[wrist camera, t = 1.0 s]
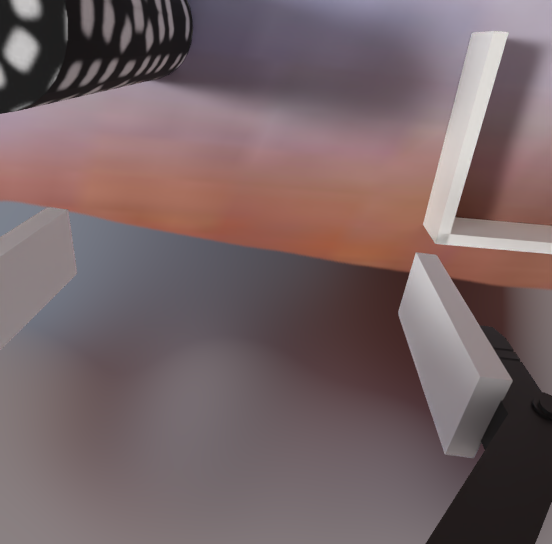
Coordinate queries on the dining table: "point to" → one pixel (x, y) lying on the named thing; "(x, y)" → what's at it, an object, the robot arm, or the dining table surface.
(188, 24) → the white-spotted black cylinder
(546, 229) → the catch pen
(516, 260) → the dining table surface
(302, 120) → the dining table surface
